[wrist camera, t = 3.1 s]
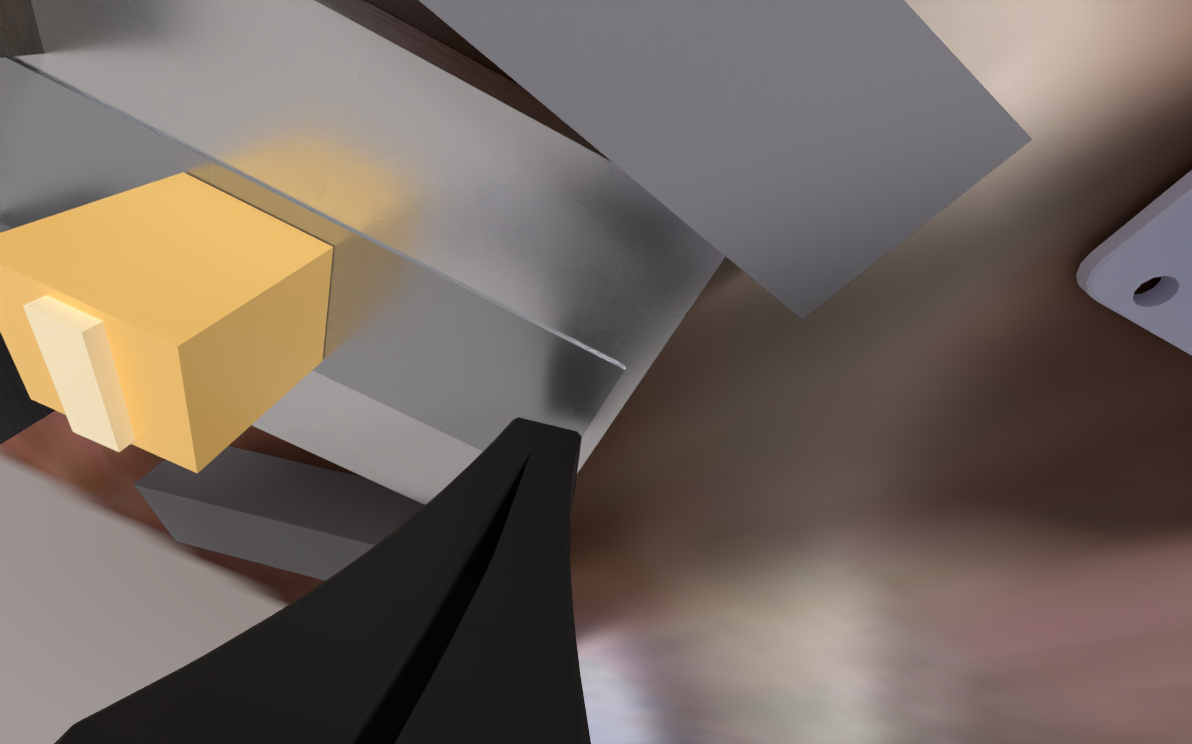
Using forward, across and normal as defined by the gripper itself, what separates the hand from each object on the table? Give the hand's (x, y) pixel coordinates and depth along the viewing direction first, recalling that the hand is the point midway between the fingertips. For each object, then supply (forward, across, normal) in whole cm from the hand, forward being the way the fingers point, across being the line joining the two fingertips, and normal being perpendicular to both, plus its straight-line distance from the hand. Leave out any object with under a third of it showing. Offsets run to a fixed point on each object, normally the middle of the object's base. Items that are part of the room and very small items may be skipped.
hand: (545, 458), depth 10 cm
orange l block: (+1, +7, -2) cm, 7 cm away
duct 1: (+3, +7, +7) cm, 10 cm away
